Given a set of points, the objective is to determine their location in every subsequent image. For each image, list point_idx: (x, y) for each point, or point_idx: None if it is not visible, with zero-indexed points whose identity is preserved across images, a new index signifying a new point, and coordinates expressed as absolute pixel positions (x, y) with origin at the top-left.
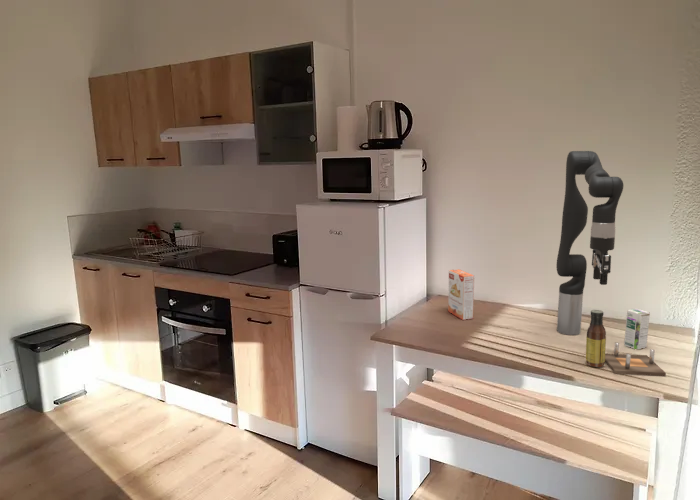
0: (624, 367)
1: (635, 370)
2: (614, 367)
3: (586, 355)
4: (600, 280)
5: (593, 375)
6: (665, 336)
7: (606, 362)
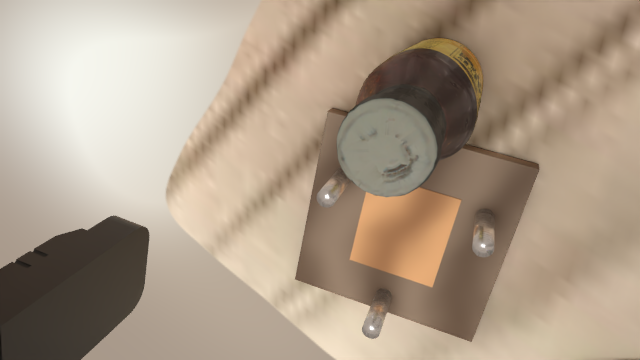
0: None
1: None
2: None
3: (443, 40)
4: (74, 243)
5: (323, 5)
6: None
7: None
